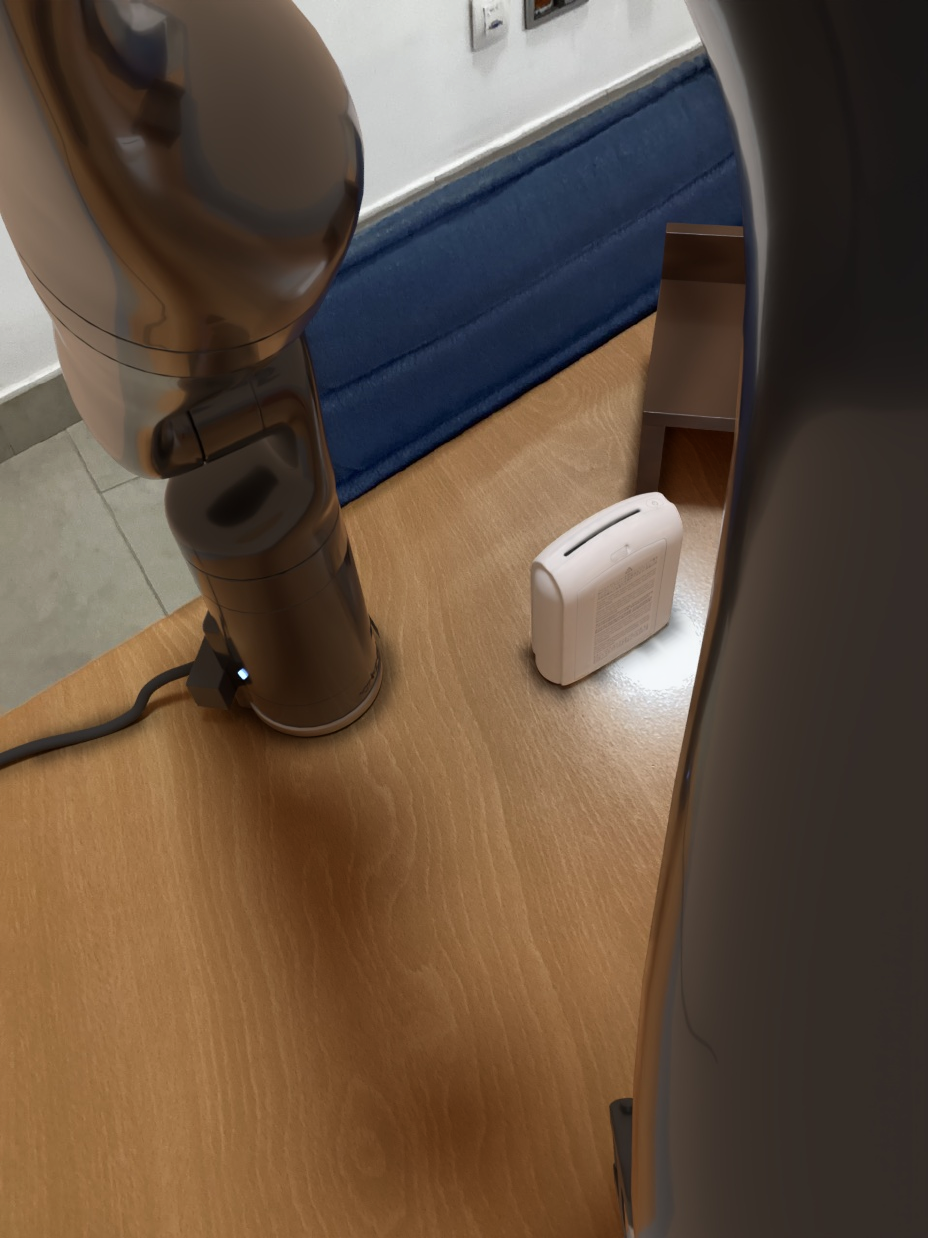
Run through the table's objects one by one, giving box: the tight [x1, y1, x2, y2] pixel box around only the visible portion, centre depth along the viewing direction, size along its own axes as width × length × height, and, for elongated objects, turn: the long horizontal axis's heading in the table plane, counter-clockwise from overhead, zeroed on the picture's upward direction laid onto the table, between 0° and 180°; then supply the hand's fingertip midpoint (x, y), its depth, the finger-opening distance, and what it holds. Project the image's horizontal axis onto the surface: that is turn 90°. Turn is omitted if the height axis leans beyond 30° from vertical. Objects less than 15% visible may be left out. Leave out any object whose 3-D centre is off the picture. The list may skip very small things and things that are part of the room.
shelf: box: [634, 222, 745, 496], centre depth 77 cm, size 16×15×14 cm
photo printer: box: [529, 491, 685, 686], centre depth 68 cm, size 10×4×12 cm, turn 123°
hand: (803, 1065), depth 38 cm, fingers open, 8 cm apart
